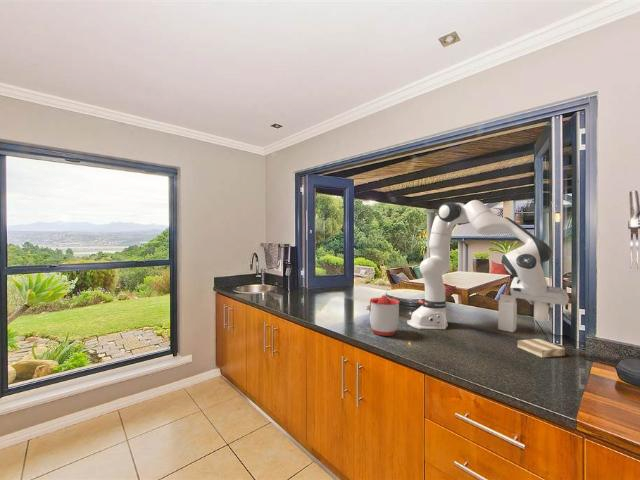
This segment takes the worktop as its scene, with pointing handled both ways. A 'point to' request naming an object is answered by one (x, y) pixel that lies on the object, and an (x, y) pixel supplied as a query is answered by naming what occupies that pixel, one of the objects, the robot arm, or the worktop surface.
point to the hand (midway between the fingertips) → (541, 304)
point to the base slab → (541, 348)
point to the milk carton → (507, 313)
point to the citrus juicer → (384, 315)
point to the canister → (541, 311)
